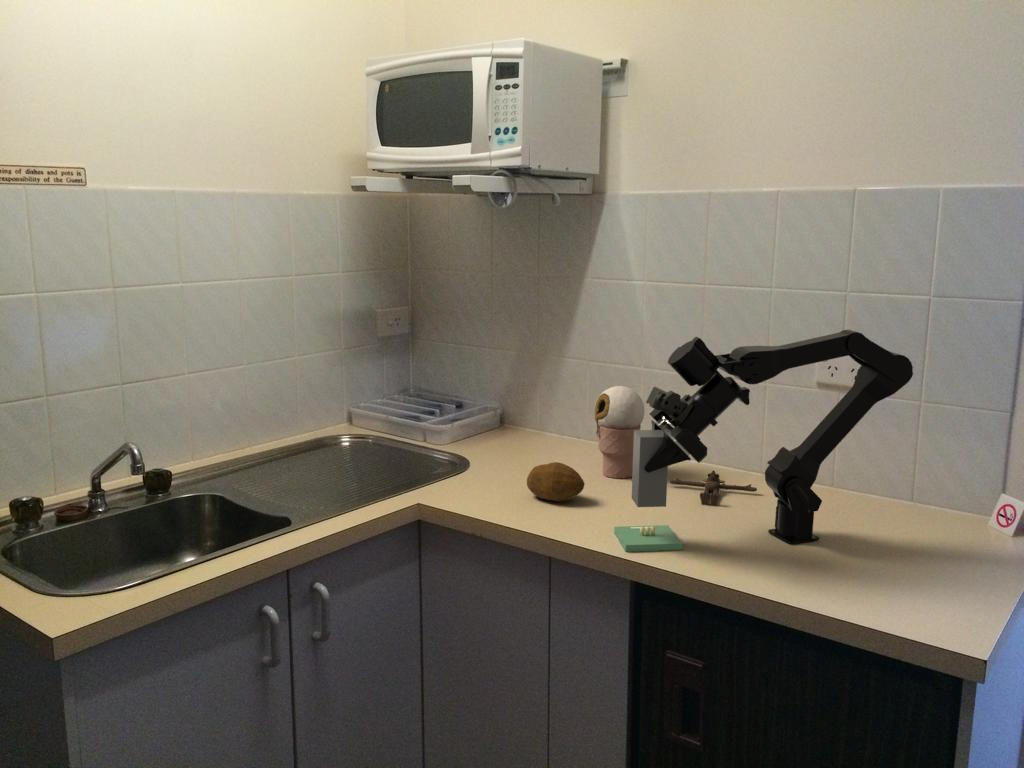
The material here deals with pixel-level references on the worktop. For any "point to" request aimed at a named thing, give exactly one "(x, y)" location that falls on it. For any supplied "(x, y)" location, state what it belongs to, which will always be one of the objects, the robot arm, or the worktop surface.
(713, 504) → the brown clay figure
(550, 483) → the potato
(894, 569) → the worktop surface
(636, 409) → the ice cream cone
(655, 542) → the header board
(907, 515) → the worktop surface
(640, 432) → the grey rectangular block
